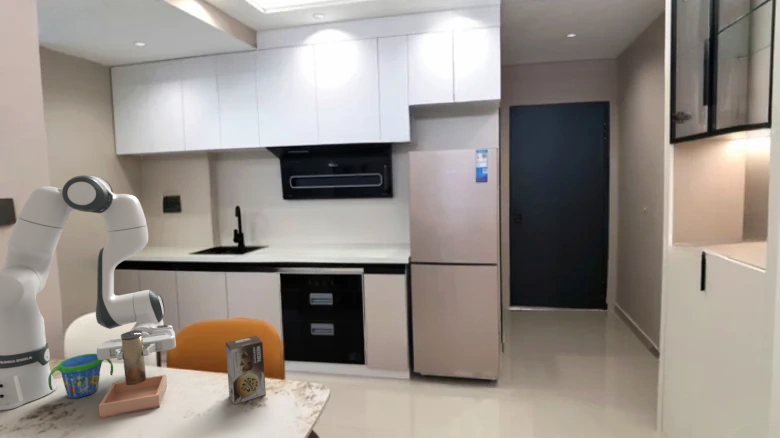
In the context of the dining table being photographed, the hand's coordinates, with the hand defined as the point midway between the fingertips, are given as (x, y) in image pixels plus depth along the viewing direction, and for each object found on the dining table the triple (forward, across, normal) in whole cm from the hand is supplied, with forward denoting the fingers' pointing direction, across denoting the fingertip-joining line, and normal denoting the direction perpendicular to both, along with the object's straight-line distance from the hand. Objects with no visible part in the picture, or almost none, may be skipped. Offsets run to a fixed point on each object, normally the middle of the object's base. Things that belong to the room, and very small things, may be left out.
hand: (132, 355), depth 118 cm
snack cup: (-13, -16, +14) cm, 25 cm away
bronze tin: (-1, 0, +8) cm, 8 cm away
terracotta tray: (-1, 0, +14) cm, 14 cm away
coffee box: (+9, +30, +14) cm, 34 cm away
